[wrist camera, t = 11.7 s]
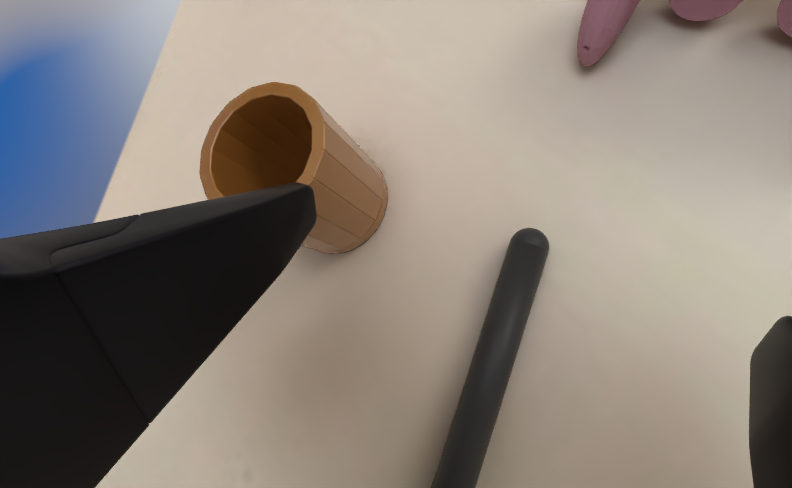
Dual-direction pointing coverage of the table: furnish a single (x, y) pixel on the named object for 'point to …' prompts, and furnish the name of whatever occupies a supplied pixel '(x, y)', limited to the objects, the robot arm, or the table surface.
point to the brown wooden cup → (295, 162)
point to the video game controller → (617, 3)
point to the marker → (492, 361)
